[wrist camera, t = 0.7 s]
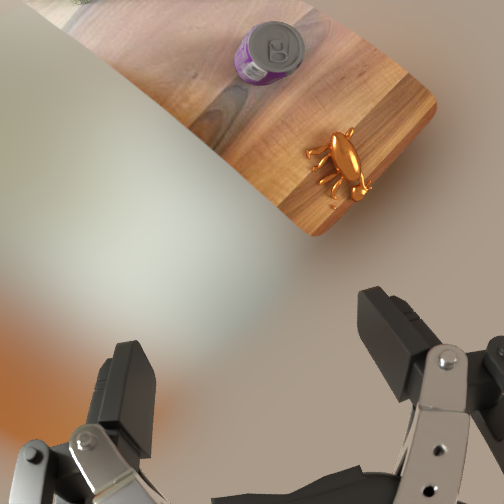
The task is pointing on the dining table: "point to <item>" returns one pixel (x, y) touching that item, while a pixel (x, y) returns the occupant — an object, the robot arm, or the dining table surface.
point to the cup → (81, 1)
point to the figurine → (342, 164)
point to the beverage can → (269, 53)
